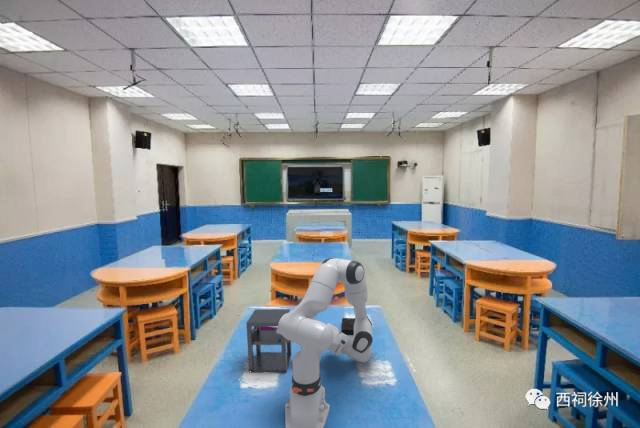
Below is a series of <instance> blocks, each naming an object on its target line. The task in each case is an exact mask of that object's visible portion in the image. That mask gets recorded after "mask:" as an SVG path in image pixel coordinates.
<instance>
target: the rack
mask: <svg viewBox="0 0 640 428" xmlns="http://www.w3.org/2000/svg"><path fill="white" fill-rule="evenodd" d="M289 312H291V309H281V308H280V309H278V308H277V309H273V308H272V309H254V310H253V312H252V314H251V315H250V317H249V318H248V319H247V321H246V339H247V356H248V372H249V371H251V372H250V373H264V372H269V373H275V374H276V373H280V374H283V373H286V374H287V373H288V370H289V367H290V362H291V358H292V354H293V353H292V341H289V340H287V339H286V338H284V337H283V336H282V335H281V334H280V333H277V331H260V327H278V323H279V320H280V319H281V317H282V316H283V315H284V314H286V313H289ZM254 345H255V348H256V349H255V350H256V354H255V357H254ZM262 345H263V346H266V345H267V346H269V345H270V346H271V345H272V346H275V345H276V346H278V345H279V346H280V345H281V352H274V351H273V352H267V351H266V352H265V351H262Z"/></svg>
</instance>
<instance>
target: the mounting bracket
mask: <svg viewBox="0 0 640 428" xmlns="http://www.w3.org/2000/svg"><path fill="white" fill-rule="evenodd" d="M276 330H277V327H260V331H276Z"/></svg>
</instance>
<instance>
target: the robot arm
mask: <svg viewBox="0 0 640 428" xmlns="http://www.w3.org/2000/svg"><path fill="white" fill-rule="evenodd" d="M338 283H340V284H343V289H344V294H345V298H346V301H347V303H348V304H349V305H351V306H352V307H353V310H354V311H353V313H354V317H355V320H354V324H353V327H354V335H352V337H351V336H350V335H346V334H344V333H342V331H341V332H340V330H339V328H338V327H336V326H335V325H334V324H332V323H330V322H326V323H325V322H323V321H320V320H318V319H314V318H315V317H316V316H317V315H319V314H320V313H323V312H326V311H327V310H328V308H329V306H330V304H331V302H332V299H333V296H334V294H335V291H336V288H337V286H338ZM367 301H368V287H367V281H366V278H365V268H364V265H363V264H362V263H361V262H359V261H356V260H350V259H346V258H337V257H335V258H334V257H329V258H326V259H324V260H323V261H322V263H321V264H320V265H319V267H318V268H317V269H316V271H315V273H314V275H313V277H312V279H311V281H310V283H309V285H308V288H307V290H306V293H305V294H304V296H303V298H302V300H301V301H300V302H299V304H297V306H296V307H295V308H293V309H292V310H290V312H289V313H286V314H284V315H283V316H282V317H281V319H280V320H279V323H278V331H279V333H280V334H281V335H282V336H283V337H284V338H286V339H287V340H289V341H291V343H294V344H297V345H299V346H300V349H301V350H300V351H298V352H296V353H295V354H294V356H293V358H292V376H291V385H290V387H289V400H288V402H287V403H285V405H284V418H285V419H284V420H285V421H284V422H285V426H284V427H285V428H325V426H326V422H327V419H328V416H329V413H330V409H331V406H330V404H329V403H327V402H326V391H325V390H326V389H325V387H324V386H323V385H322V376H321V373H320V360H321V356H322V354H323V353H324V352H325V351H326V352H327V350H328V351H329V352H331V353H334V355H336V356H337V357H339V355H340V354H343V355H346V356H347V357H348V358H350V359H351V360H354V361H356V362H358V363H361V364H362V363H363V364H365V363H367V362H368V361H369V360H370V359H371V356H372V354H373V353H372V344H373V342H374V341H373V340H374V339H373V324H372V321H371V320H370V318H369V317H368V313H367V307H366V303H367Z"/></svg>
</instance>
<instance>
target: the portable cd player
mask: <svg viewBox="0 0 640 428" xmlns="http://www.w3.org/2000/svg"><path fill="white" fill-rule="evenodd" d="M354 320H355V318H354V317H349V318H348V317H342V318H341V332H342V333H344V334H346V335H347V336H353V335H354V327H353V324H354Z"/></svg>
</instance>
